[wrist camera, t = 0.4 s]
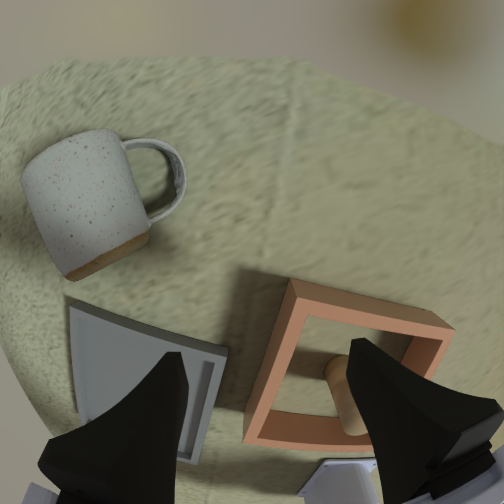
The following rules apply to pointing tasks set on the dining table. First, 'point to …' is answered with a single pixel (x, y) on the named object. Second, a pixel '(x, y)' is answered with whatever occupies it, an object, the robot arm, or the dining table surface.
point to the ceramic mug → (92, 199)
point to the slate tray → (140, 368)
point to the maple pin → (344, 396)
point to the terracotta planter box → (283, 345)
